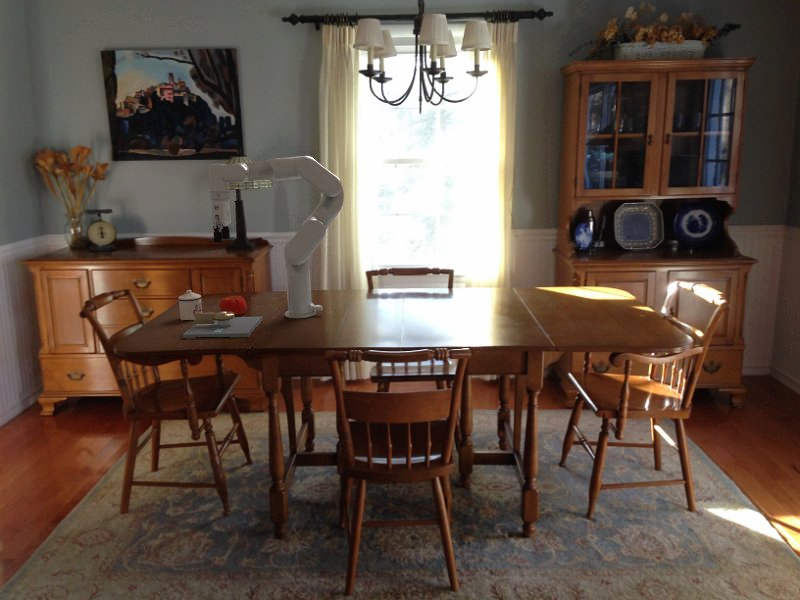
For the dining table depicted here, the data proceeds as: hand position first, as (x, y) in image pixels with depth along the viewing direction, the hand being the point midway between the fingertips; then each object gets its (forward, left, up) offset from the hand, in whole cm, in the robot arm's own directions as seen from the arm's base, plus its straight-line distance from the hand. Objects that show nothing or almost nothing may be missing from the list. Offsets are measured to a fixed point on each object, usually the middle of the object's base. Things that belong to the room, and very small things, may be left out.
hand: (222, 240), depth 265 cm
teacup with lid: (+16, -4, -32) cm, 36 cm away
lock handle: (+1, +15, -30) cm, 33 cm away
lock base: (-2, +15, -32) cm, 35 cm away
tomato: (0, -7, -32) cm, 33 cm away
